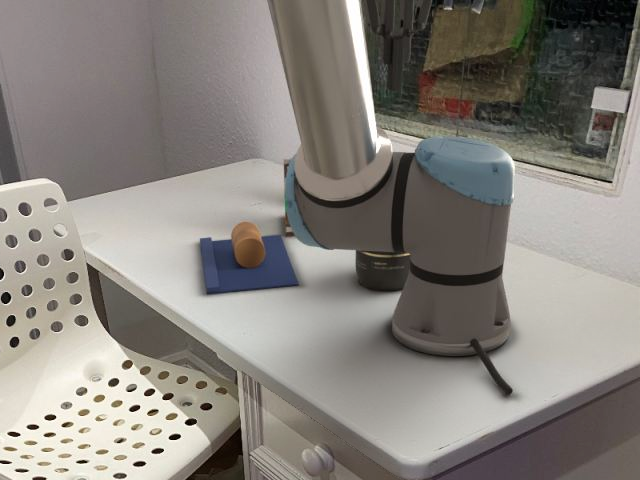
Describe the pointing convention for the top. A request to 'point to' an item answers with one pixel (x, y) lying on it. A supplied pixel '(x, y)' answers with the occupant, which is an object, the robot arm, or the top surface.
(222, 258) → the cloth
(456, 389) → the top surface
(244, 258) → the roller
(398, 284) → the jar
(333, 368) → the top surface
